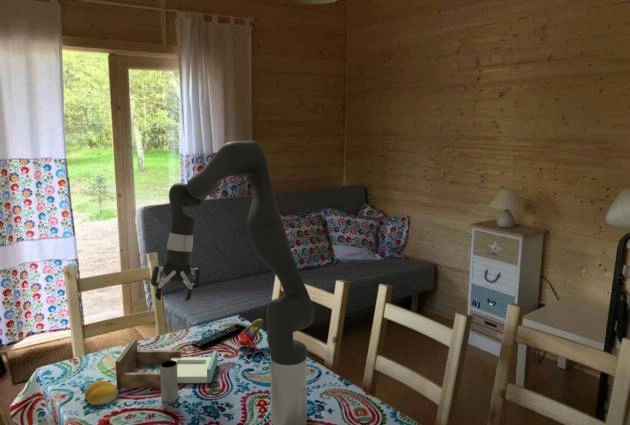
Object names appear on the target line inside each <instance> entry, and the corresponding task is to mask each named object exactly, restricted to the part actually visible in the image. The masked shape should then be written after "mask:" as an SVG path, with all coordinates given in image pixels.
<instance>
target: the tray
mask: <svg viewBox="0 0 630 425" xmlns="http://www.w3.org/2000/svg"><path fill="white" fill-rule="evenodd" d="M171 360H174V361H176V362H177V374H178V384H211V382H212V381H213V376H214V374H215V371H216V368H217V364H218V350H213V352H212V355H211V356H208V357H207V356H205V357H204V356H203V357H201V356H200V357H197V356H196V357H195V356H194V357H193V356H191V357H188V356H186V357H183V356H182V357H172V359H171Z"/></svg>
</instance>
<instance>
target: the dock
mask: <svg viewBox="0 0 630 425" xmlns="http://www.w3.org/2000/svg"><path fill="white" fill-rule="evenodd" d="M172 357H183V356H182V350H181V349H180V350H179V349H178V350H177V349H176V350H175V349H174V350H172V349H166V350H165V349H164V350H160V349H159V350H158V349H157V350H155V349H154V350H138V338H132V339H131V341H130V342H129V343H128V345H127V346H126V347H125V348H124V350H123V351H122V352H121V353H120V355H119V356H118V357H117V359H116V360H115V376H116V377H115V378H116V379H115V380H116V388H117V389H119V388H120V389H123V388H125V389H126V388H128V389H129V388H130V389H132V388H135V389H136V388H137V389H138V388H141V389H142V388H147V389H149V388H161V380H160V372H133V370H134V369H135V367H136V366H137V365H160V364H161V363H162V362H163V361H166V360H171V359H172Z"/></svg>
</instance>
